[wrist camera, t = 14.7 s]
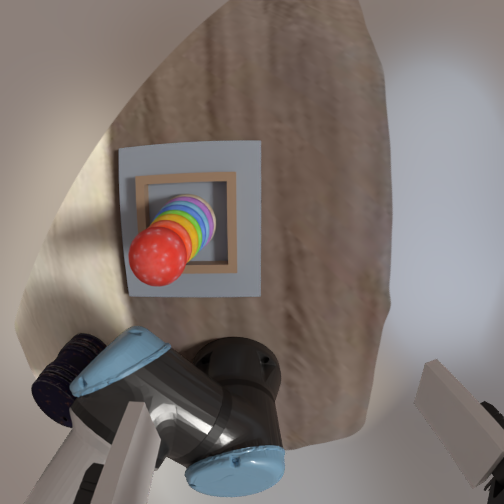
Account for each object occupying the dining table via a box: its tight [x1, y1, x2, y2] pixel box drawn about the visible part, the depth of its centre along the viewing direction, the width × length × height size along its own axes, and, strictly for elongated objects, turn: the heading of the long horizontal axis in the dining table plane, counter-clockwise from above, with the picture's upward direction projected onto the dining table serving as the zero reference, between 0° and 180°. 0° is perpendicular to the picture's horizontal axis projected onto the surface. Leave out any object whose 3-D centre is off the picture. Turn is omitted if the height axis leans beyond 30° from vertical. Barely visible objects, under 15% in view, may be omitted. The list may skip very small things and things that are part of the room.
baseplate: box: [119, 141, 261, 297], centre depth 39 cm, size 22×20×3 cm
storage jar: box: [31, 334, 107, 428], centre depth 38 cm, size 10×10×15 cm
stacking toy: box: [128, 194, 216, 287], centre depth 30 cm, size 8×8×19 cm
